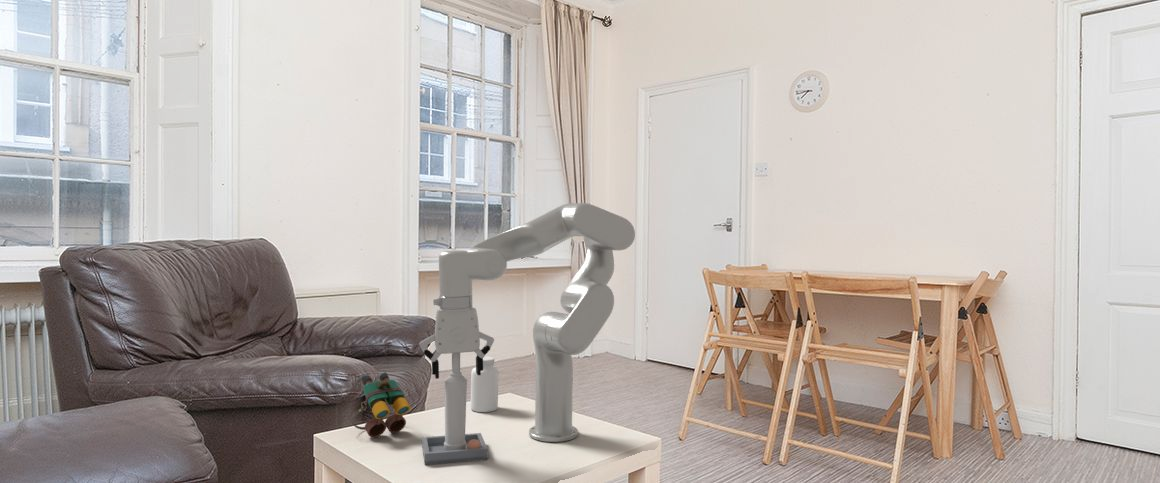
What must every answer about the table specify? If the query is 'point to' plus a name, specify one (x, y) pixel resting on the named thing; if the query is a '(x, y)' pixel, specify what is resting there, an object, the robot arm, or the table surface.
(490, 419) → the table surface
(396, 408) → the binoculars
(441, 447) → the tray
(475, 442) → the ball
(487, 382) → the pill bottle
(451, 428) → the bottle
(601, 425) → the table surface
